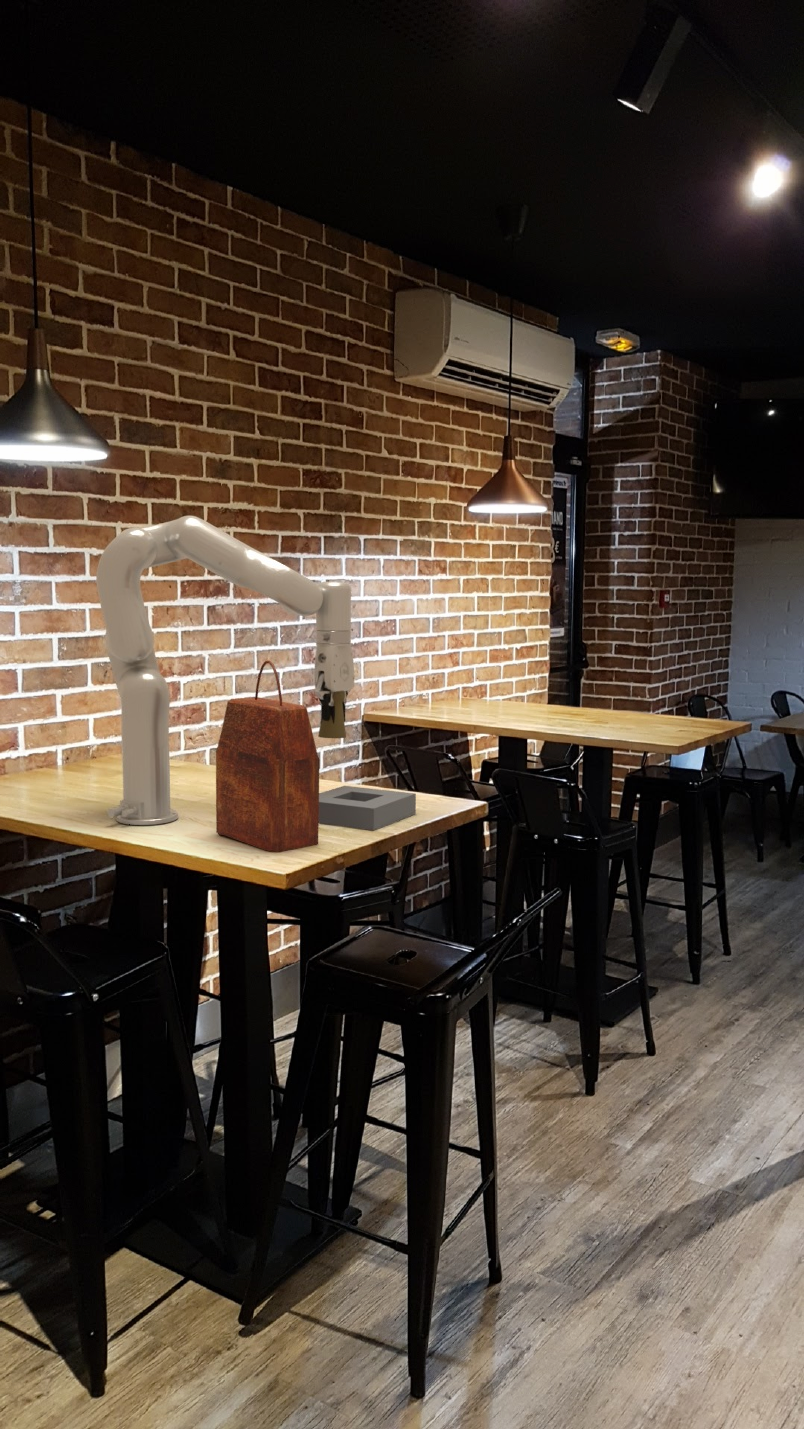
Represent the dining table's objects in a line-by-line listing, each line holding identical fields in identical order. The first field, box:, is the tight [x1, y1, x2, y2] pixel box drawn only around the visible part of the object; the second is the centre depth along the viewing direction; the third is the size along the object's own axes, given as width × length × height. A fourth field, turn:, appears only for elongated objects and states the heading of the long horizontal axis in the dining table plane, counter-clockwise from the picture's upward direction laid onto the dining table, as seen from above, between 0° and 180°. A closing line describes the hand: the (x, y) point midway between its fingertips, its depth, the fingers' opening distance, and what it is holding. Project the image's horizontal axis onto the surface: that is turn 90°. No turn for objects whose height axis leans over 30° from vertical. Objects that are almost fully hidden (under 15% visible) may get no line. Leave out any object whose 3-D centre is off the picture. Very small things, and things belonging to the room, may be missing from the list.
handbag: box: [215, 660, 321, 853], centre depth 201 cm, size 10×19×35 cm, turn 43°
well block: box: [319, 785, 417, 831], centre depth 224 cm, size 18×18×4 cm
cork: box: [318, 688, 347, 739], centre depth 231 cm, size 6×6×11 cm
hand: (333, 722), depth 231 cm, fingers closed on cork, 3 cm apart
